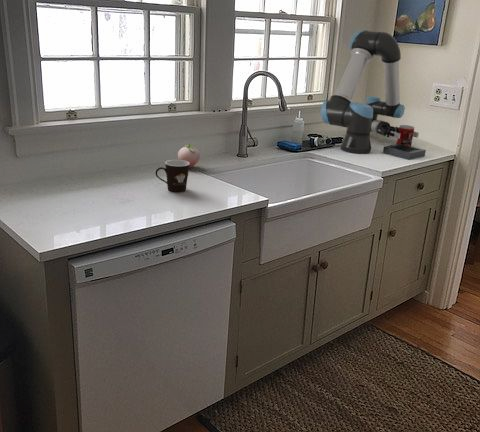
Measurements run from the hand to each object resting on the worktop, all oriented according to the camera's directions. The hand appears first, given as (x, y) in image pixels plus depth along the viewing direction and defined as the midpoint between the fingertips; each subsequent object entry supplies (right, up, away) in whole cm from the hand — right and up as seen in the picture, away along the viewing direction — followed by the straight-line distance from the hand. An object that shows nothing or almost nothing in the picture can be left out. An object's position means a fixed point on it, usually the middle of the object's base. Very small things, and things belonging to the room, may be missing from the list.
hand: (408, 135), depth 279 cm
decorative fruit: (-111, -23, -62) cm, 130 cm away
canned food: (-2, -5, +4) cm, 7 cm away
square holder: (-7, -12, -14) cm, 19 cm away
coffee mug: (-114, -33, -90) cm, 149 cm away
